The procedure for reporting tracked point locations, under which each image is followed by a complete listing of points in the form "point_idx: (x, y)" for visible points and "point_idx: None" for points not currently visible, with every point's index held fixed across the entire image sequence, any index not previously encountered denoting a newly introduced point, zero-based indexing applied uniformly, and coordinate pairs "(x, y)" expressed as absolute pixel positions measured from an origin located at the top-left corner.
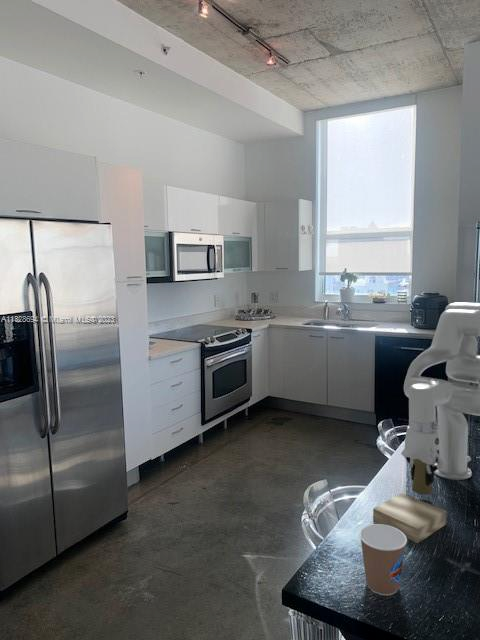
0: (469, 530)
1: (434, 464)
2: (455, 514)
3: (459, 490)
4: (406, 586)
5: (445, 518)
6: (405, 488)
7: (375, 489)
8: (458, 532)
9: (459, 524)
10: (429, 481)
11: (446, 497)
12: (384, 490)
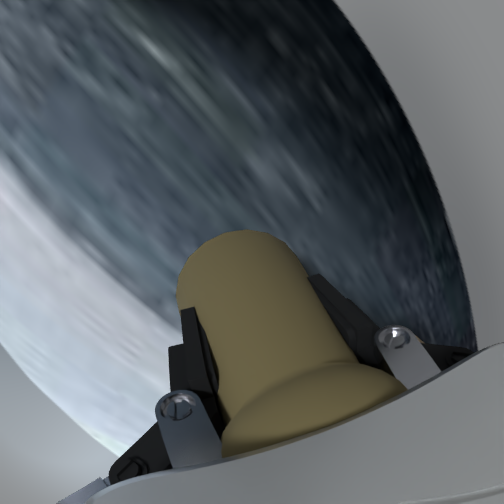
0: (455, 284)
1: (436, 371)
2: (398, 242)
3: (268, 11)
4: None
5: (419, 341)
6: (89, 258)
7: (58, 384)
8: (440, 321)
9: (430, 285)
10: None
11: (287, 135)
12: (75, 361)
